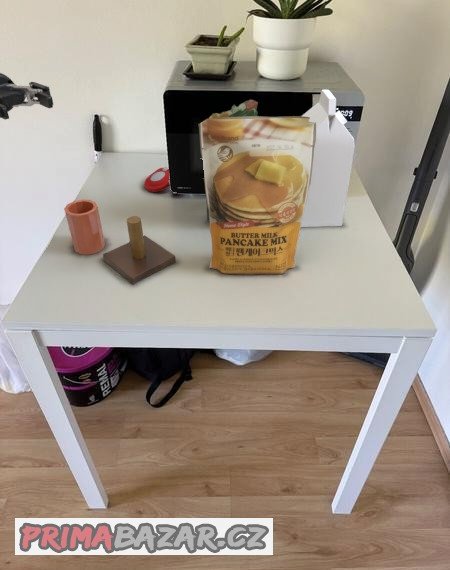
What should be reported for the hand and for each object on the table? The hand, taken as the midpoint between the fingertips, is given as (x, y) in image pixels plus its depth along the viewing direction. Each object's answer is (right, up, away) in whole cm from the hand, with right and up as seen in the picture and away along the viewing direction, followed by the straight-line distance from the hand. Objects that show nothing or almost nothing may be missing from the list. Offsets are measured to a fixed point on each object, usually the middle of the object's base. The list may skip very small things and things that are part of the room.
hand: (28, 107), depth 80 cm
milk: (+55, -16, +22) cm, 61 cm away
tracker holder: (+21, -8, +30) cm, 37 cm away
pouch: (+37, -17, +19) cm, 45 cm away
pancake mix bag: (+41, -28, +6) cm, 50 cm away
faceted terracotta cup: (+8, -24, +10) cm, 27 cm away
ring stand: (+19, -27, +6) cm, 34 cm away
